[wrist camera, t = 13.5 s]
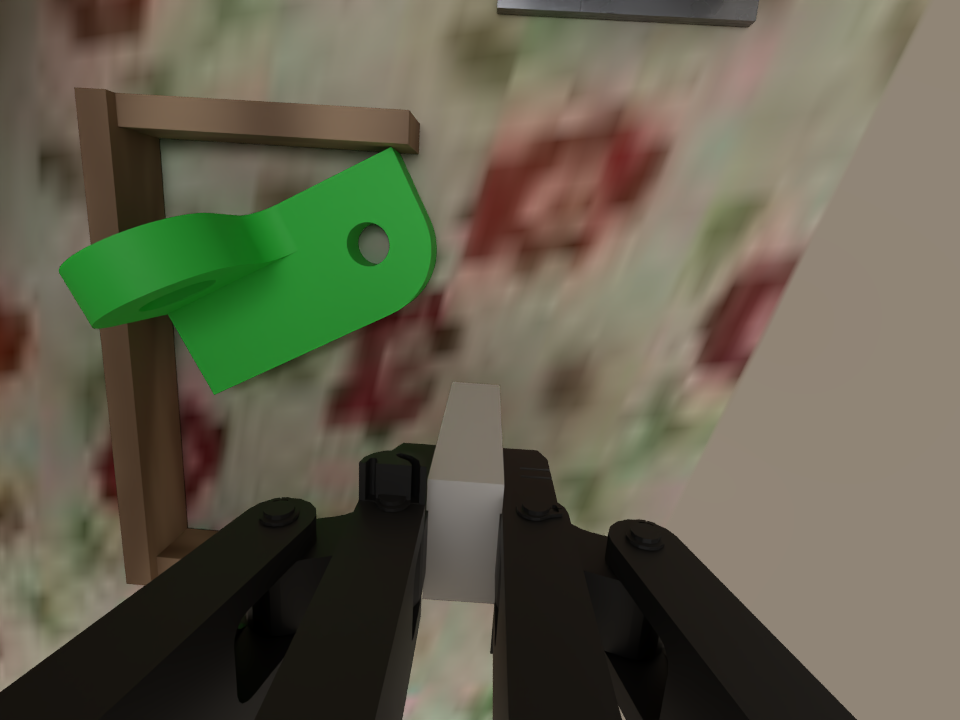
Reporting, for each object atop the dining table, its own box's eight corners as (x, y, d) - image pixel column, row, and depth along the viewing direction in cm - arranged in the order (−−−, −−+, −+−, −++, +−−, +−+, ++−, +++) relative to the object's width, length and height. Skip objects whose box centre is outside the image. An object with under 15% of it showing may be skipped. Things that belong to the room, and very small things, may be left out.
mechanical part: (236, 382, 26) (118, 446, 18) (172, 269, 24) (16, 283, 17) (458, 281, 24) (437, 301, 16) (401, 154, 23) (347, 110, 15)
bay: (166, 546, 28) (126, 583, 25) (129, 106, 23) (74, 87, 20) (404, 567, 27) (392, 607, 24) (419, 124, 22) (406, 107, 19)
